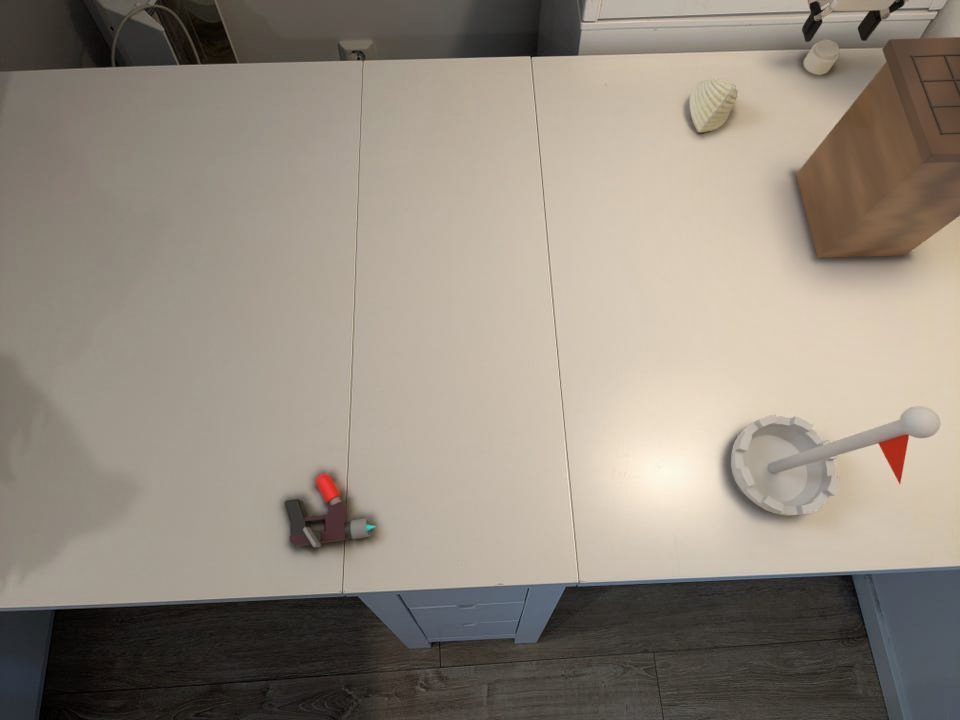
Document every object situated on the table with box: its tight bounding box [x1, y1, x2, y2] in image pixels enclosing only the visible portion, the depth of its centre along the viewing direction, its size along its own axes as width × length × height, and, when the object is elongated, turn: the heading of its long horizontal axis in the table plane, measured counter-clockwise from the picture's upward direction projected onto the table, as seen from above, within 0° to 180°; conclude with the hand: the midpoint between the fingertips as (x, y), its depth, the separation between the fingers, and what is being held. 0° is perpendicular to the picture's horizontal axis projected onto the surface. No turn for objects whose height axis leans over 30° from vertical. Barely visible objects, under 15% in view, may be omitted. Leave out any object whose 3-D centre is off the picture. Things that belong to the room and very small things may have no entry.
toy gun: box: [284, 473, 377, 548], centre depth 74 cm, size 10×12×5 cm
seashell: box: [688, 78, 739, 133], centre depth 96 cm, size 8×8×8 cm
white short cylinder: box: [802, 39, 840, 76], centre depth 100 cm, size 5×5×4 cm
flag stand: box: [730, 405, 941, 516], centre depth 63 cm, size 13×13×30 cm
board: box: [795, 36, 960, 259], centre depth 79 cm, size 16×18×26 cm
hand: (833, 35), depth 96 cm, fingers open, 9 cm apart
